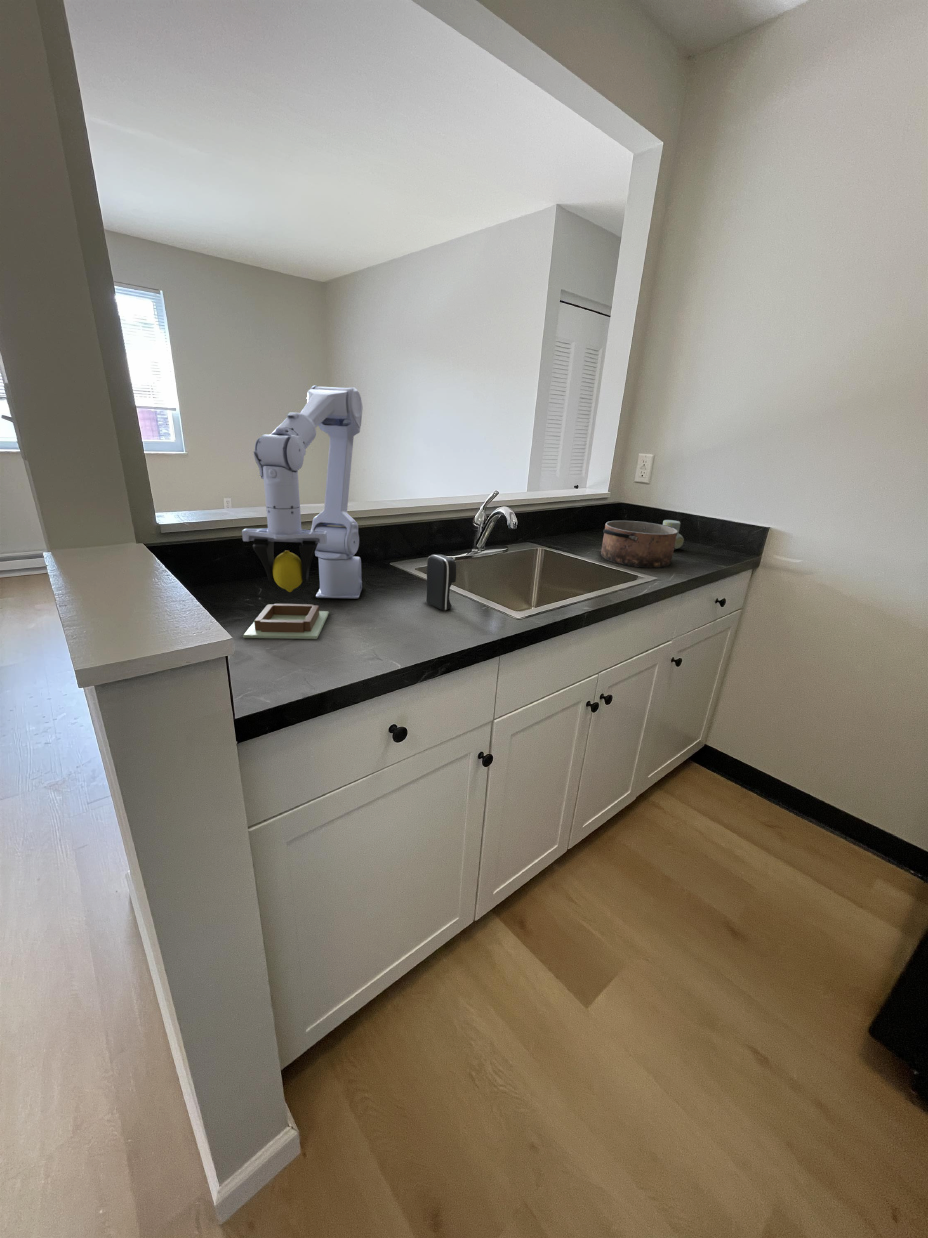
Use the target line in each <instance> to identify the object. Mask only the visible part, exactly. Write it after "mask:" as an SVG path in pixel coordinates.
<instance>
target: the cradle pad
mask: <svg viewBox="0 0 928 1238" xmlns="http://www.w3.org/2000/svg"><path fill="white" fill-rule="evenodd" d="M329 615H330V612H329V611H327V610H326V611H324V610H320V605H314V604H309V603H308V604H307V603H274V604H269V603H268V604H267V605H266V606H265V607H264V608H263V609H262V610H261V612H260V613H259V614H258V615H257V616H256V618H255V619H254V621H253V622H252V624H251V625H250V626H249V627H248V628H247V630H246V631H245V632H244V633H243V634H242V637H243V639H286V640H288V639H291V640H292V639H293V640H295V639H298V640H318V638H319V635H320V634H321V632H322V629H323V627H324V625H325V623H326V621H327V618H328V617H329Z"/></svg>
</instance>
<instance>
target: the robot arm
mask: <svg viewBox="0 0 928 1238" xmlns="http://www.w3.org/2000/svg"><path fill="white" fill-rule="evenodd" d="M306 399H307V401H306V403H305V405H304V407H303V408H302V409H301V411H300V412H292V411H291V412H288V414H287V415H286V417H285V419H284V420H283V421H282V422H281V423H279V425H278V426H277V427H275V429H274V430H273V431H272V432H271V433H270V434H267V433H265V434H262V435H261V436H260V437H258V438H257V439H256V441H255V442H254V443H255V444H254V451H253V457H254V460H255V463H256V465H257V467H258V472H259V476H260V479H262V480H263V488H264V498H265V499H264V500H265V511H266V522H267V523H266V524H267V527H266V528H244V529H242V530H241V536H242V537H241V538H242V541H243V542H250V541H251V542H252V541H253V545H252V549H253V551H254V552H255V554H256V555H257V556H258V558H259V560H260V561H261V563H262V566H263V567H264V570H265V572H266V576H267V579H268V581H269V582H273V581H275V580H274V578H273V571H272V570H273V563H274V560H275V554H274V553H275V552H274V551H275V550H274V549H275V542H280V543H281V542H283V543H301V544H300V545H299V546H298V548H299V554H300V560H301V562H302V583H307V582H308V581H309V577H310V569H311V565H312V561H313V558H314V555H315V557H317V558H318V574H319V575H318V576H319V589H318V591H317V592H316V594H315V598H317V599H352V600H353V599H354V600H355V599H356V600H357V599H360V596H361V592H362V589H363V581H362V580H363V579H362V559H361V557H360V556H355V554H357V552H358V550H359V547H360V535H359V523H358V522H357V521H356V520H355V518H353V517H352V516H351V515H350V514H349V513H348V508H349V507H348V506H349V505H348V504H349V495H350V485H351V484H350V482H351V471H352V459H353V448H354V437H355V436H356V435H358V434H360V432H361V426H362V418H363V402H362V397H361V394H360V392H359V390H358V389H357V388H356V387H354V386H353V387H337V386H336V387H335V386H318V385H312V386H311V387H310V388H309V389H308V390H307V397H306ZM317 427H318V428H319V429H320V431H321V432H324V433H325V434H327V435H328V437H329V446H328V457H327V458H328V459H327V469H326V483H325V493H324V494H325V495H324V505H323V506H324V507H323V510H322V511H321V512H319V514H317V515H316V516H314V517H313V518H312V522H311V528H310V529H305V528H304V529H303V528H302V515H301V501H300V500H301V499H300V485H299V470H300V469H302V467H303V464H304V459H305V455H306V453H307V451H306V450H307V449H308V448H309V446H310V445H311V444H312V442H314V440H315V439H316V437H317Z"/></svg>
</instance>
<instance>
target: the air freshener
mask: <svg viewBox="0 0 928 1238" xmlns="http://www.w3.org/2000/svg"><path fill="white" fill-rule="evenodd" d="M662 525H666V526H671V527H675V528H676V530H677V531H678V532H677V537H676V542H675V547H674V551H676V550H677V549H680V548H681V547H682V546H683V545H684V542H685V538H684V537H683V535H682V534H681V533H679V532H680V527H681V521H679V520H673V519H664V520H663V521H662Z"/></svg>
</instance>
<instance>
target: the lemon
mask: <svg viewBox="0 0 928 1238" xmlns="http://www.w3.org/2000/svg"><path fill="white" fill-rule="evenodd" d="M272 571H273V578H274V580H273V581H274V582H275V583H276V585H277V586H278V587H280V588H281V589H283V590H286V591H287V592H288V593H291V592H293V591H294V590H295V589H297V588H298V587H300V586H301V584H302V583H303V581H302V562H301V557H299V556H298V555H297V554H295V553H293V552H290V550H284V551H283V552H281V553H279V554H278V555H276V557H274V563H273V570H272Z"/></svg>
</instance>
